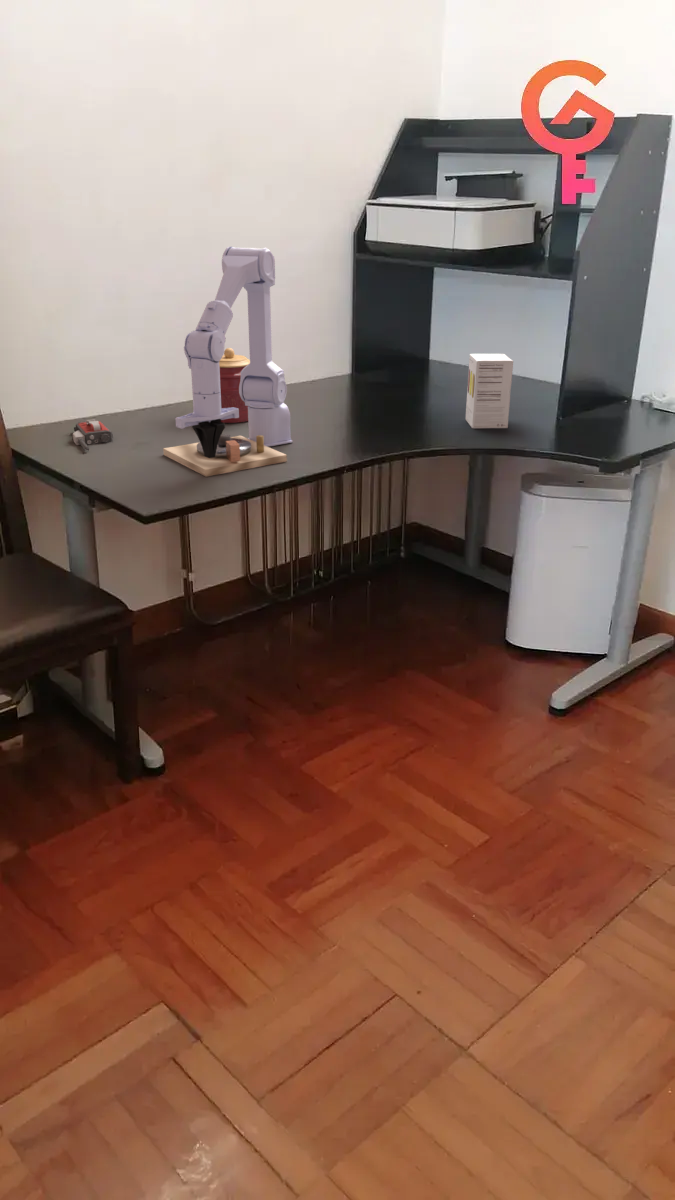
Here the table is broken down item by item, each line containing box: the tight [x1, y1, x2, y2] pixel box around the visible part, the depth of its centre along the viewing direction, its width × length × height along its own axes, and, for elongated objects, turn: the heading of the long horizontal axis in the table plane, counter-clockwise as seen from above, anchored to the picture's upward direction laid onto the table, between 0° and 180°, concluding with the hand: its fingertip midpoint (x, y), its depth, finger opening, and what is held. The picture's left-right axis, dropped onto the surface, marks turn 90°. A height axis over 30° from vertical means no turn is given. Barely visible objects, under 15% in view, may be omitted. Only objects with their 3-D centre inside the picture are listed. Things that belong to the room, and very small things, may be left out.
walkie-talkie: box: [72, 419, 114, 451], centre depth 222 cm, size 9×4×20 cm
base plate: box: [162, 433, 288, 478], centre depth 209 cm, size 20×20×5 cm
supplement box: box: [465, 353, 514, 429], centre depth 236 cm, size 10×9×17 cm
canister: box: [219, 347, 250, 424], centre depth 241 cm, size 13×13×18 cm
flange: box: [197, 438, 251, 462], centre depth 207 cm, size 16×12×4 cm
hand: (209, 456), depth 198 cm, fingers closed
